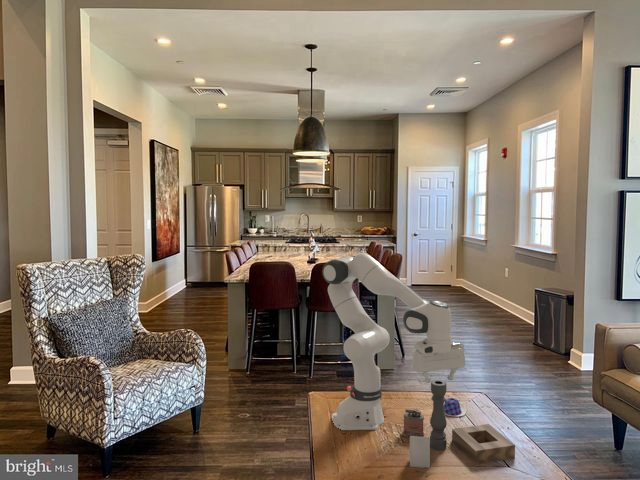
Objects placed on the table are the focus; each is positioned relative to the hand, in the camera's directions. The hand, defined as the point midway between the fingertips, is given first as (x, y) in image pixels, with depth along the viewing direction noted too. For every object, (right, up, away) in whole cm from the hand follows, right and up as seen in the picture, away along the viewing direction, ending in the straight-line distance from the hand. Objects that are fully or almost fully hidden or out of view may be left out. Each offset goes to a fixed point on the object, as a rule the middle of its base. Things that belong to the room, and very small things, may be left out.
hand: (439, 380), depth 167 cm
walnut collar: (+16, -26, 0) cm, 30 cm away
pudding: (+14, -24, +31) cm, 41 cm away
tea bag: (-10, -27, -9) cm, 30 cm away
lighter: (-7, -25, +12) cm, 29 cm away
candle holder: (0, -26, +2) cm, 26 cm away
